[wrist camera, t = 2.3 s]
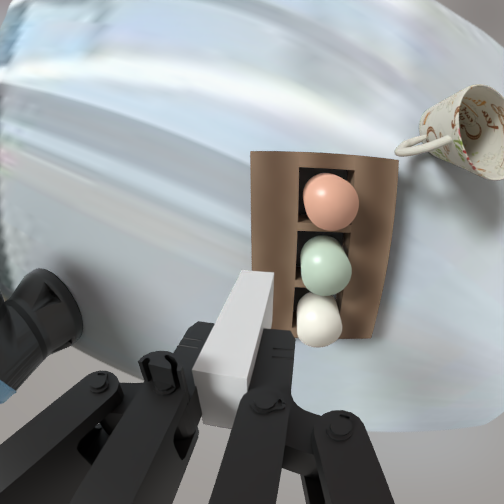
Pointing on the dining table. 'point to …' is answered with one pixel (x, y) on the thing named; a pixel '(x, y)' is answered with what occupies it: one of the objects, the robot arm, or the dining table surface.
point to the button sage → (324, 266)
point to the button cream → (318, 320)
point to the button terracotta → (330, 201)
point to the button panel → (354, 235)
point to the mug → (464, 132)
